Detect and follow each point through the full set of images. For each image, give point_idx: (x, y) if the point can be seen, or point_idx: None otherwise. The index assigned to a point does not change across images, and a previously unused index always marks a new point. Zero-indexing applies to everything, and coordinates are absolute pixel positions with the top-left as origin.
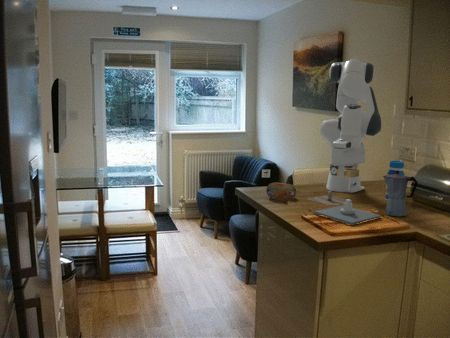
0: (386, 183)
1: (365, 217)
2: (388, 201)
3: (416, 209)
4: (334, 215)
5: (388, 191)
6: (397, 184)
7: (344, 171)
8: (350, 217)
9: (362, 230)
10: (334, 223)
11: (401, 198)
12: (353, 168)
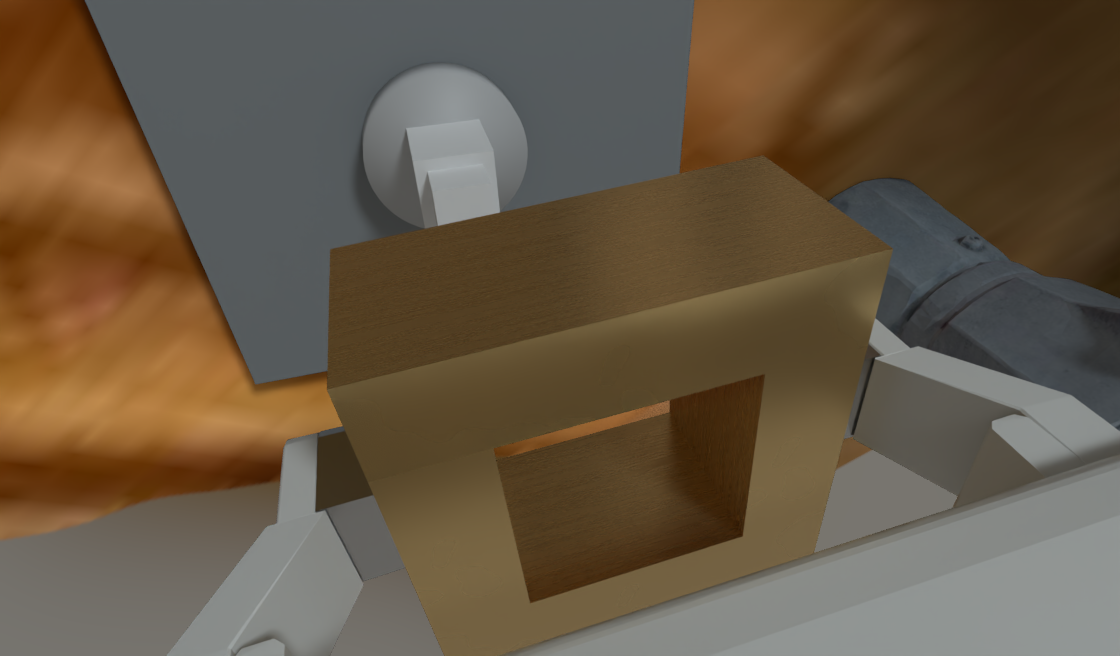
0: (1101, 314)
1: None
2: (884, 286)
3: (1109, 200)
4: (224, 155)
5: (953, 342)
6: None
7: None
8: None
9: (276, 452)
10: (133, 261)
11: None
12: (907, 403)
